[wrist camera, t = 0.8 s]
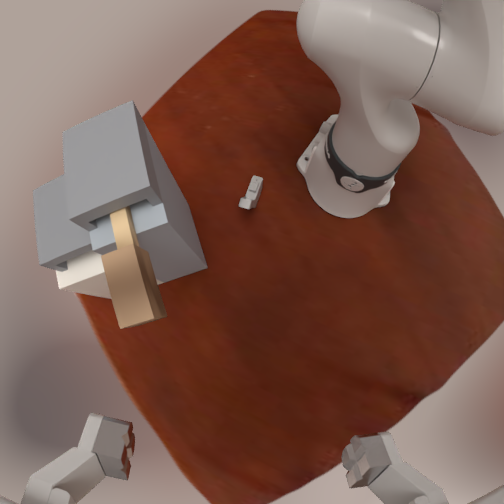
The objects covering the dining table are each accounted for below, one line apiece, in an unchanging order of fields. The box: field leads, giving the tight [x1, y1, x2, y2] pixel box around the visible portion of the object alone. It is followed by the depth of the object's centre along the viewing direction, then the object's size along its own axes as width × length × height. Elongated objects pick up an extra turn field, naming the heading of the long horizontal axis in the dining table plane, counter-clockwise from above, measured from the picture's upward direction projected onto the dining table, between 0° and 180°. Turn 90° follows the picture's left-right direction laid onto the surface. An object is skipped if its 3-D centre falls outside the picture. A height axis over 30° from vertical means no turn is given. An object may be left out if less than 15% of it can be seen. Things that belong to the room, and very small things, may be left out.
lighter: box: [239, 176, 263, 209], centre depth 52 cm, size 7×2×8 cm, turn 161°
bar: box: [101, 205, 168, 329], centre depth 26 cm, size 17×3×4 cm, turn 19°
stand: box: [33, 101, 208, 299], centre depth 39 cm, size 12×18×30 cm, turn 109°
